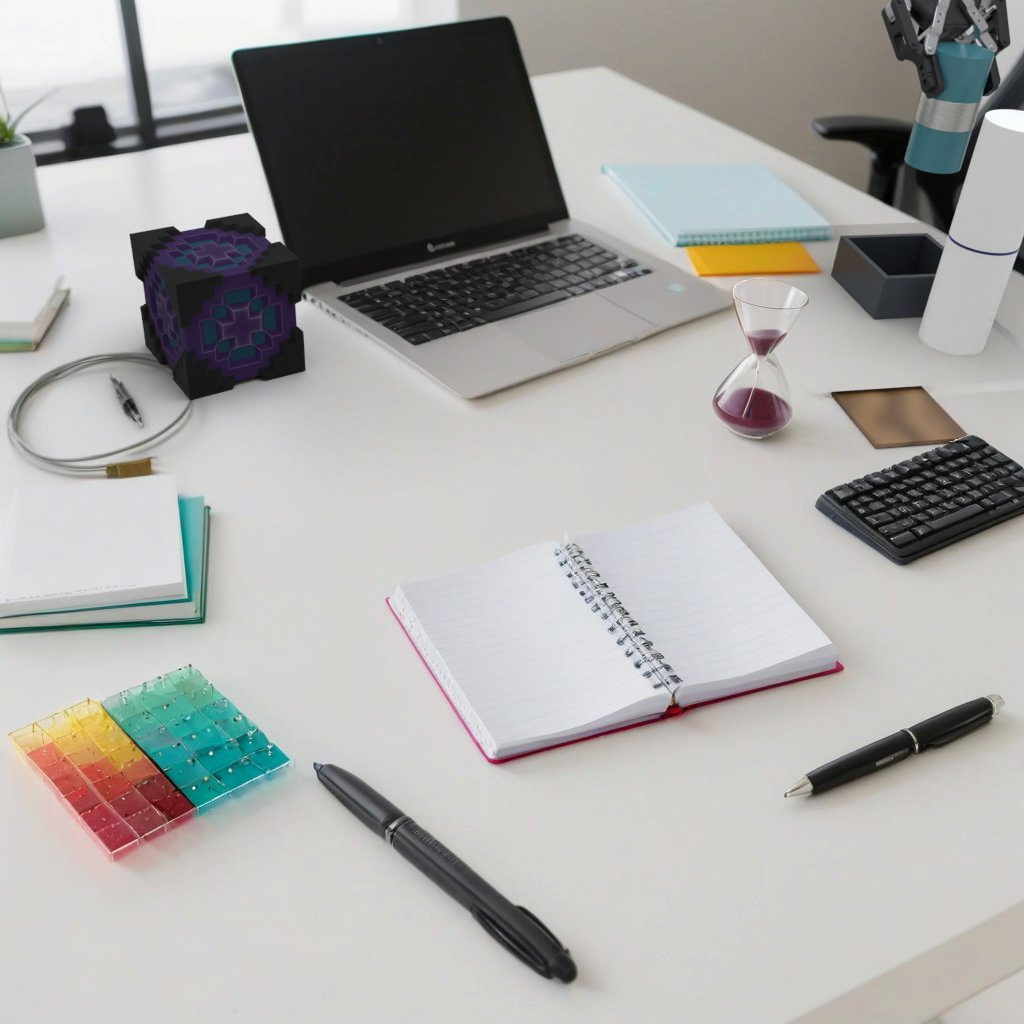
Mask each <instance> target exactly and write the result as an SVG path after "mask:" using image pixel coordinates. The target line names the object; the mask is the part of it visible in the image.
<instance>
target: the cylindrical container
mask: <svg viewBox="0 0 1024 1024" xmlns="http://www.w3.org/2000/svg"><path fill="white" fill-rule="evenodd" d="M981 123H982V124H981V126H980V130H979V134H978V137H977V140H976V142H975V145H974V150H973V152H972V155H971V159H970V163H969V166H968V169H967V172H966V175H965V179H964V181H963V185H962V188H961V191H960V195H959V198H958V202H957V205H956V208H955V212H954V215H953V218H952V220H951V225H950V227H949V230H948V235H947V237H946V241H945V244H944V246H943V247H944V250H943V253H942V256H941V260H940V263H939V266H938V269H937V273H936V276H935V279H934V282H933V286H932V289H931V292H930V295H929V299H928V302H927V305H926V308H925V312H924V315H923V317H921V322H920V325H919V328H918V331H917V336H918V338H919V339H920V341H921V342H923V343H924V344H925V345H926V346H928V347H930V348H931V349H934V350H936V351H939V352H942V353H945V354H949V355H954V356H974V355H978V354H980V353H982V352H983V351H984V350H985V348H986V346H987V345H986V344H987V342H988V339H989V336H990V333H991V331H992V327H993V324H994V322H995V320H996V317H997V313H998V311H999V307H1000V305H1001V302H1002V299H1003V296H1004V293H1005V290H1006V287H1007V285H1008V282H1009V279H1010V277H1011V273H1012V270H1013V268H1014V264H1015V262H1016V259H1017V256H1018V253H1019V251H1020V247H1021V245H1022V242H1023V239H1024V110H1019V109H1010V108H1007V109H1006V108H1002V109H1001V108H1000V109H999V108H998V109H992V110H989V111H986V112H985V114H984V117H983V120H982V122H981Z"/></svg>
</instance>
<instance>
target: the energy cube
mask: <svg viewBox="0 0 1024 1024" xmlns="http://www.w3.org/2000/svg"><path fill="white" fill-rule="evenodd" d="M266 232H267V231H266V228H265V227H264V225H262V224H261V223H260V222H259V221H258V220H257V219H255V218H254V217H253V216H252V214H250V213H249V212H243V213H237V214H231V215H227V216H221V217H215V218H210V219H206V220H205V222H204V226H203V227H199V228H194V229H193V228H192V229H187V230H181V231H180V230H179V229H178V228H177V227H175V226H174V225H171V226H165V227H160V228H155V229H150V230H143V231H138V232H132V233H129V240H130V248H131V256H132V260H133V269H134V275H135V277H136V278H137V279H138V280H140V281H141V282H142V287H143V292H144V293H143V295H144V301H145V303H144V304H142V305H141V306H139V309H140V316H141V322H142V329H143V335H144V344H145V347H147V349H148V350H149V352H151V354H152V355H153V356H154V358H155V359H156V360H157V361H158V362H159V364H160V365H163V364H167V363H168V365H170V367H171V368H172V373H171V374H172V380H173V381H174V382H175V383H176V385H177V386H178V387H179V388H180V390H181V391H182V392H183V393H184V395H185V396H186V397H187V398H188V400H189V401H193V400H195V399H200V398H203V397H207V396H212V395H216V394H219V393H222V392H223V393H224V392H227V391H230V390H233V389H234V388H235V387H234V386H235V384H236V382H238V381H242V380H246V379H251V378H254V377H258V376H259V378H261V379H262V380H263V381H264V382H266V381H270V380H273V379H277V378H282V377H285V376H290V375H293V374H297V373H301V372H306V353H305V336H304V335H305V333H304V330H302V329H301V328H300V327H299V326H297V324H298V323H297V310H296V308H297V307H296V305H297V304H298V303H300V302H302V300H303V297H302V278H301V277H302V276H301V259H300V258H299V257H298V256H297V254H295V253H294V252H293V251H291V249H290V248H289V247H287V246H286V245H285V244H283V243H282V242H281V241H274V242H271V241H270V240H269V239H268V238H267V233H266Z"/></svg>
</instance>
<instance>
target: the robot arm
mask: <svg viewBox="0 0 1024 1024" xmlns="http://www.w3.org/2000/svg"><path fill="white" fill-rule="evenodd" d="M880 12H881V13H880V14H881V17H882V20H883V23H884V26H885V30H886V32H887V35H888V38H889V40H890V44H891V46H892V50H893V52H894V55H895V57H896V59H897V60H898V61H899V62H904V61H909V62H911V63H912V65H913V66H915V67H916V72H917V75H918V80H919V85H920V89H921V92H922V91H923V93H925V94H926V97H927V98H928V99H931V98H936V97H937V96H938V95H940V94H941V93H942V92H943V91H944V88H945V86H944V81H943V76H942V72H941V67H940V63H939V59H938V56H934V55H933V54H934V53H935V52H936V47H937V43H939V39H942V38H945V39H949V40H953V39H954V42H962V43H969V44H974V45H978V46H979V44H980V46H982V47H985V48H987V49H989V50H991V51H993V52H994V54H995V55H994V59H993V62H992V66H991V69H990V72H989V76H988V79H987V82H986V86H985V89H984V92H983V96H982V97H990V96H991V95H992V94H994V93H995V92H996V91H997V90H998V89H999V87H1000V85H1001V80H1002V79H1001V75H1000V71H999V66H998V61H997V56H998V55H999V54H1000V53H1001V52H1002V51H1004V50H1005V49H1007V48H1008V47H1010V46H1011V33H1010V25H1009V17H1008V8H1007V0H891V1H889V2H888V4H887V5H885V6H884V7H883V8H882V9H881V11H880ZM913 21H914V22H915V24H916V29H915V27H914V24H913ZM971 27H972V28H973V30H972V32H970V33H969V34H967V33H966V32H967V31H969V29H970V28H971ZM977 41H978V43H979V44H978V43H977Z"/></svg>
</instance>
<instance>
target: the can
mask: <svg viewBox="0 0 1024 1024" xmlns="http://www.w3.org/2000/svg"><path fill="white" fill-rule="evenodd" d="M933 55H934V56H938V59H939V63H940V67H941V72H942V76H943V81H944V86H945V88H944V91H943V92H942V93H941V94H940V95H938V96H937V97H936V98H931V99H928V98H927V97H926V94H925V93H923V91H922V90H921V94H920V97H919V101H918V105H917V108H916V113H915V116H914V121H913V125H912V129H911V133H910V136H909V140H908V145H907V147H906V152H905V156H904V160H903V161H904V162H905V163H906V164H907V165H908V166H910V167H911V168H914V169H916V170H919V171H922V172H926V173H931V174H940V175H947V174H948V175H949V174H955V173H958V172H959V171H960V170H961V169H962V165H963V163H964V159H965V156H966V152H967V149H968V145H969V143H970V138H971V137H972V133H973V129H974V128H975V123H976V121H977V117H978V114H979V111H980V107H981V104H982V100H983V97H984V96H983V92H984V89H985V86H986V82H987V79H988V76H989V72H990V69H991V66H992V62H993V59H994V55H995V54H994V52H993V51H991V50H989V49H987V48H985V47H982V45H979V44H978V45H974V44H969V43H962V42H956V41H943V42H938V43H937V47H936V52H935V53H934V54H933Z"/></svg>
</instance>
